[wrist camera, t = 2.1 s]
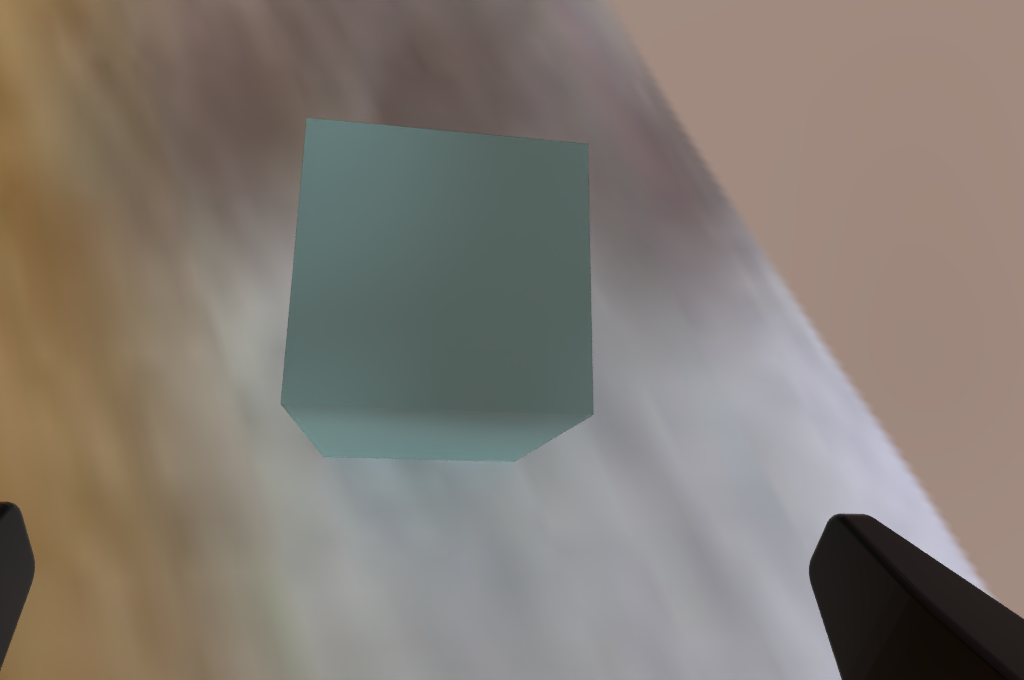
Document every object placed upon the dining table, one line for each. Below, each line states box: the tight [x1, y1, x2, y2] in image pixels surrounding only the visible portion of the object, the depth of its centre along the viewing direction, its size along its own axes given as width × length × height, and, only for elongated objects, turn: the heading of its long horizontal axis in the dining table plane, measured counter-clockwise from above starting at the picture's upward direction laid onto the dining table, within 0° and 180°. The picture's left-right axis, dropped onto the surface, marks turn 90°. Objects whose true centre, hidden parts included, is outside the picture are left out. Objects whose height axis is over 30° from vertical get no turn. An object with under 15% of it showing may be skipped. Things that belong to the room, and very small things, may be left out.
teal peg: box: [281, 118, 593, 462], centre depth 16 cm, size 5×5×8 cm
